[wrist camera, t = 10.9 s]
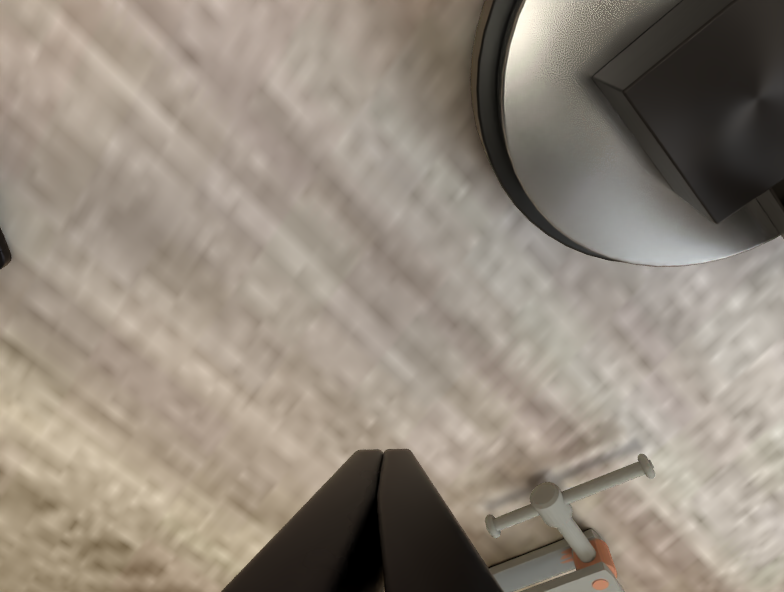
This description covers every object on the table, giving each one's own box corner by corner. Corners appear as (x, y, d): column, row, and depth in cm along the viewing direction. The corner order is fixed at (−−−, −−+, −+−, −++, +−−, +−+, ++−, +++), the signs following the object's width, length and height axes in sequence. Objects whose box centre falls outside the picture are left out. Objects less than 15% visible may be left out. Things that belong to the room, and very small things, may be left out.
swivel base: (470, 247, 20) (476, 274, 18) (469, -146, 15) (476, -166, 13) (802, 232, 19) (843, 257, 17) (918, -187, 14) (994, -214, 12)
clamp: (445, 712, 29) (329, 603, 26) (443, 667, 31) (335, 560, 28) (742, 618, 25) (655, 471, 21) (719, 573, 27) (635, 431, 23)
